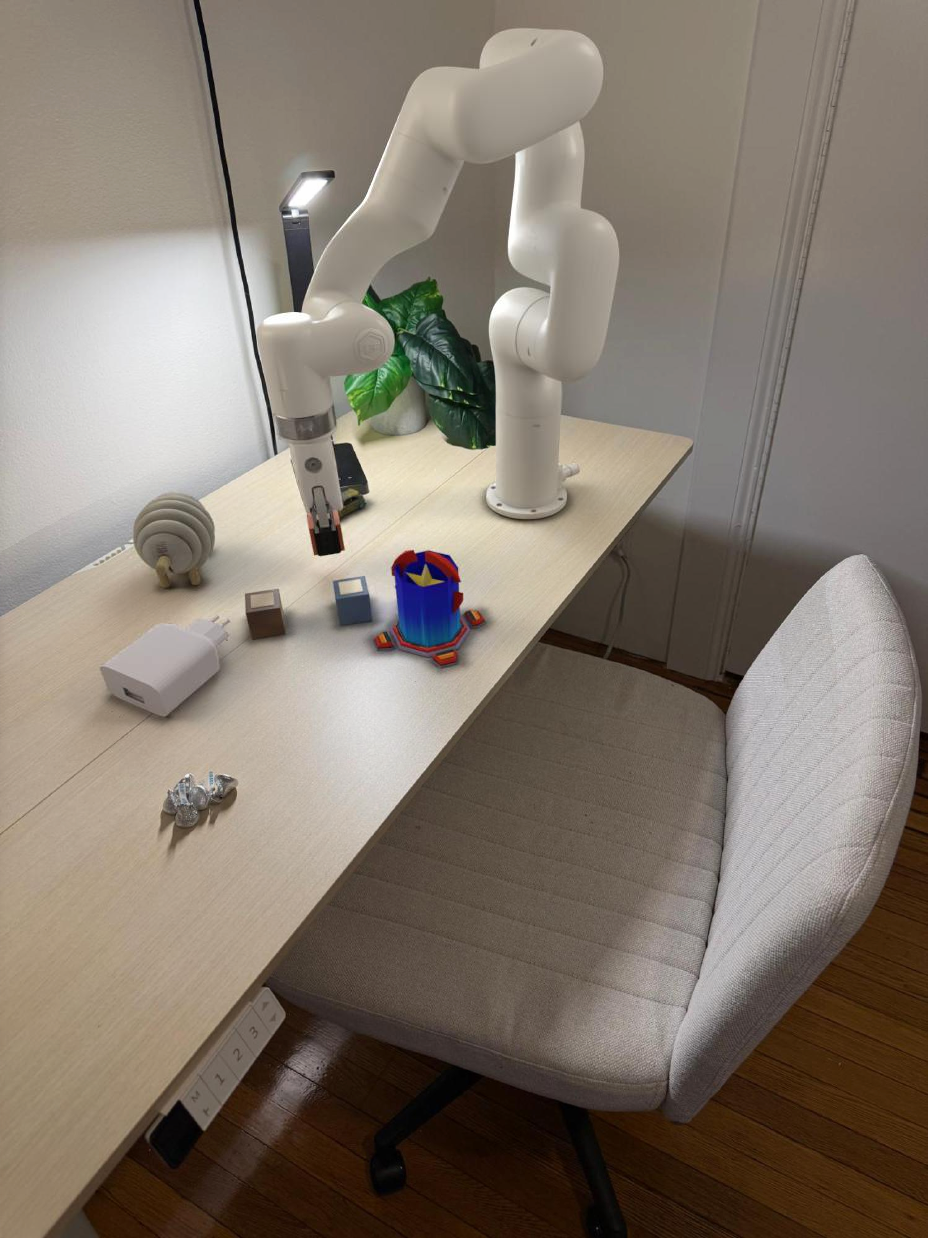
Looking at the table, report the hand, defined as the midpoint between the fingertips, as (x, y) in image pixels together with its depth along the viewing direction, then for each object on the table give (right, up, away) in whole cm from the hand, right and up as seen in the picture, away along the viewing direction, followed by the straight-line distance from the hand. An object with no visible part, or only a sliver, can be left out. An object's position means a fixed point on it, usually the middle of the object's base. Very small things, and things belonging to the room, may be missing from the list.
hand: (327, 542), depth 112 cm
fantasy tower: (+14, -12, -9) cm, 21 cm away
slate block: (+4, -10, -6) cm, 12 cm away
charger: (-15, -17, -14) cm, 26 cm away
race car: (0, +6, +15) cm, 16 cm away
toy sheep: (-21, -4, +3) cm, 21 cm away
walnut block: (-6, -12, -8) cm, 15 cm away
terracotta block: (0, 0, 0) cm, 0 cm away
